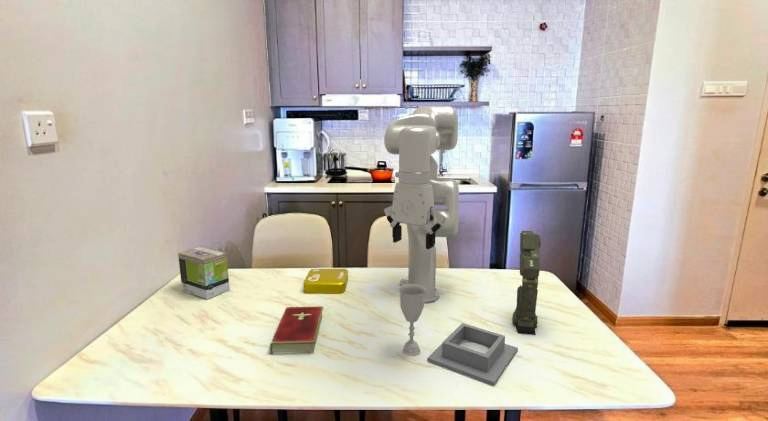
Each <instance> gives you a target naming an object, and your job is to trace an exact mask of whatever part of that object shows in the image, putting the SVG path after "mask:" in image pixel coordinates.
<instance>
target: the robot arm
mask: <svg viewBox="0 0 768 421" xmlns="http://www.w3.org/2000/svg"><path fill="white" fill-rule="evenodd" d="M458 135H459V118H458V114H457V110H456V109H455V108H454V107H453V106H451V105H423V106H422V105H421V106H419V107H417V108H415V109H414V111H412V114H411V115H407V116H405V117H400V118H396V119H393V120H392V121H391V122H390V123H389V124H388V125H387V127H386V129H385V132H384V137H383V138H384V139H383V142H384V143H383V144H384V148H385V150H386V151H387V153H389V154H391V155H398V171H396V172H395V174H394V175H395V176H394V177H395V178H398V182H396V183H395V184H394V185H395V186H394V191H393V195H392V196H393V197H392V205H389V206H388V207H385V208H384V209H383V212H384V214H385V217H386V220H387V222H388V223H389V225H390V227H391V228H392V231H391V232H392V235H391V236H392V243H398V242H400V241H402V238H403V235H402V231H403V230H402V228H403V227H402V225H401V224H404V225H406V230H407V238H408V239H407V241H408V242H407V243H408V263H407V264H408V271H407V272H408V273H407V275H408V276H407V277H408V278H407V279H405V278H400V280H399V287H400V286H402V285H405V284H417V285H421V286H423V287H425V289H426V292H425V293H424V304H428V303H433V302H435V301H437V300H438V299H439V298H440V291H439V290H438V289H437V288H436V277H437V276H436V274H437V273H436V270H437V247H436V238H453V237H455V236H456V235H457V234H458V231H459V220H460V219H459V217H460V216H459V212H460V211H459V210H460V204H459V203H460V188H459V183H458V182H457V181H456V180H455V179H454V178H450V177H438V168H439V165H438V162H437V161H436V160H435V158H434V157H433V154H434V153H435V152H437V151H452V150H454V149H455V148H456V146H457V143H458V138H459V137H458ZM435 206H441V207H444V208H435Z"/></svg>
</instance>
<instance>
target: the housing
mask: <svg viewBox="0 0 768 421" xmlns="http://www.w3.org/2000/svg"><path fill="white" fill-rule="evenodd" d="M518 350H519V348H518V347H517V346H514V345H510V344H507V343H506V335H503V334H499V333H497V332H495V331H490V330H487V329H484V328H480V327H477V326H473V325H471V324H470V325H469V324H467V323H463V322H462V323H461V324H459V325H458V326H457V327H456V328H455V329H454V330H453V332H451V333H450V334H449V335H448V336H447V337H446V338H445V339H444V340H443V341H442V343H441V344H440V345H438V347H437V348H436V349H435V350H434V351H432V353H431V354H429V355H428V356H427V358H426V362H428V363H431V364H434V365H437V366H440V367H442V368H445V369H447V370H450V371H452V372H455V373H458V374H461V375H463V376H466V377H469V378H471V379H474V380H477V381H479V382H482V383H485V384H487V385H490V386H493V387H495V385H496V384H497V382H498V381H500V378H501V376H502V375H503V374H504V373H505V370H506V369H507V367H508V366H509V365H510V363H511V362H512V360H513V359H514V357H515V356H516V354H517V353H518Z"/></svg>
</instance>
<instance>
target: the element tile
mask: <svg viewBox="0 0 768 421" xmlns="http://www.w3.org/2000/svg"><path fill="white" fill-rule="evenodd" d="M348 282H349V270H348V269H347V268H311V269H309V271H308V273H307V275H306V277H305V279H304V281H303V293H304V294H308V295H313V294H314V295H318V294H319V295H341V294H344V293H345V292H346V290H347V286H348Z"/></svg>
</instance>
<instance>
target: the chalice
mask: <svg viewBox="0 0 768 421" xmlns="http://www.w3.org/2000/svg"><path fill="white" fill-rule="evenodd" d="M397 289H398V291H399V295H400V296H399V301H400V303H399V306H400V309H401V313H402V315H403V316H404V318H405V320H406V321H407V322H408V323H409V326H408V330H409V333H408V336H409V339H408V340H407V341H406V342H405V343H404V345H403V347H402V350H401V351H402V353H403V354H404V355H406V356H409V357H413V356H418V355H419V354H421V352H422V350H421V348H420V345H419V343H418V342H417V341H415V340H414V337H415V335H416V334H415V333H414V330H416V329H415V327H414V326H415V325H414V323H416V322H417V321H418V320H419V318H420V316H421V315H422V313H423V309H424V308H425V307H424V306H425V305H424V304H425V303H424V293H425V292H426V289H425V287H423V286H421V285H417V284H405V285H402V286H400V285H399V287H398V288H397Z"/></svg>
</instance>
